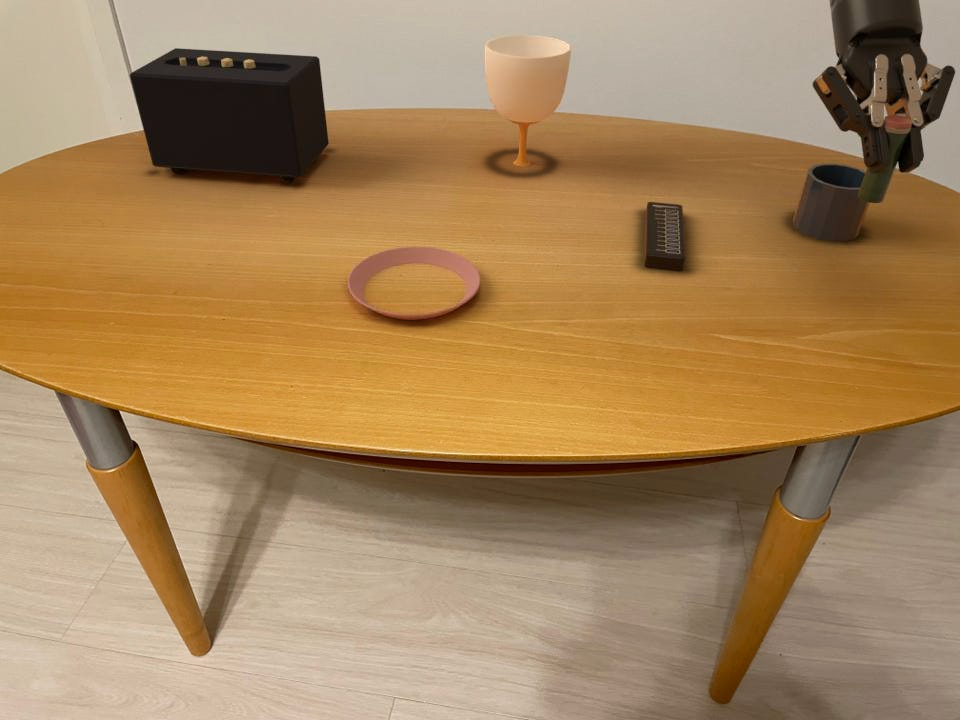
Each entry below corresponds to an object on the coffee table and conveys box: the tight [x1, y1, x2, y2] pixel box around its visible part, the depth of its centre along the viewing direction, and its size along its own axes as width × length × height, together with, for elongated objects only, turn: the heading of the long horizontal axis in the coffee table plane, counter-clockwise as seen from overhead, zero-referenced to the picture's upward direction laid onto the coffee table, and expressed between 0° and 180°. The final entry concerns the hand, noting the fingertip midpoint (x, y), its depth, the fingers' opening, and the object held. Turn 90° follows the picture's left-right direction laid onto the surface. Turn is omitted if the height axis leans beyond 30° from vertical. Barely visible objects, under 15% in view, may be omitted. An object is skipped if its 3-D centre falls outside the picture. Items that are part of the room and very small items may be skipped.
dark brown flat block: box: [643, 201, 686, 272], centre depth 90 cm, size 4×14×2 cm, turn 169°
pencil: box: [858, 115, 912, 204], centre depth 72 cm, size 2×2×8 cm
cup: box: [484, 34, 572, 168], centre depth 105 cm, size 12×12×17 cm
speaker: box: [129, 47, 330, 183], centre depth 104 cm, size 22×13×15 cm, turn 82°
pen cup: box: [792, 163, 871, 243], centre depth 92 cm, size 8×8×8 cm
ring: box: [347, 246, 482, 321], centre depth 81 cm, size 14×14×2 cm
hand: (895, 169), depth 70 cm, fingers closed on pencil, 2 cm apart
